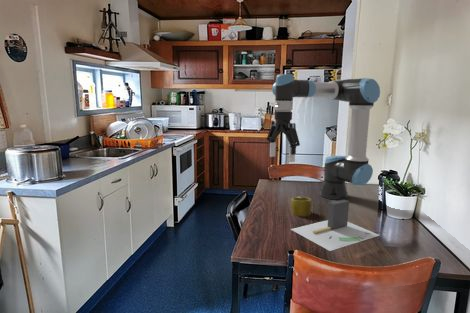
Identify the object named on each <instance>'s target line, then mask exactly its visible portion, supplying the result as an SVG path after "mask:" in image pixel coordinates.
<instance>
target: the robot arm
mask: <svg viewBox="0 0 470 313" xmlns="http://www.w3.org/2000/svg"><path fill="white" fill-rule="evenodd" d="M271 88H272V89H271V90H272V94H273V95H274V96H275V97H274V101H275V102H274V104H275V105H274V110H275V111H274V120H272V121H271V123H270V128H269V131H268V134H267V136H266V141H268V143H269V157H270V158H273V157H276V150H277V149H276V148H277V147H276V146H277V143H276V140H277V138H278V137H279V135H280V134H281V133H282V134H284V135H285V136H286V139H287V141H288V144H289V147H288V163H294V162H295V160H296V159H295V158H296V152H297V151H296V150H297V147H300V145H301V143H300V139H299V135H298V132H297V129H296V123H294V122H293V123H292V122H291V121H292V120H293V112H292V111H293V109H294V108H293V106H294V105H293V104H294V102H293V101H294V98H304V99H305V98H306V99H307V98H325V99H326V98H327V100H332V101H333V100H334V101H335V100H336V101H339V102H346V103H348V106H349V108H351V116H350V129H349V142H348V154H347V155H330V156H326V158H325V160H324V172H323V175H324V176H323V182H322V185H321V188H320V191H319V196H320V197H322V198H324V199H328V200H334V201H339V200H347V198H348V194H349V193H348V190H347V186H346V182H347V183H349V184H352V185H355V186H364V185H366V184H368V183H369V181H371V178H372V176H373V173H374V172H373V171H374V170H373V167H372V165H370V164H369V158H368V157H367V148H368V147H367V146H368V137H369V136H368V134H369V125H370V124H369V123H370V112H371V111H370V110H371V109H372V108H373V107H374V105H375V104H374V103H376V102H377V101H378V100H379V98H380V94H381V87H380V85H379V83H378V82H377V81H376V80H375V79H374V78H366V77H364V78H350V79H349V78H346V79H341V80H340V79H339V80H331V81H330V80H329V81H328V82H320V81H319V82H316V81H313V80H309V79H295V76H294V75H293V74H292V73H291V74H289V73H281V74H277V75H276V77H275V82H274V83H273V85H272V87H271Z"/></svg>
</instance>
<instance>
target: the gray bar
mask: <svg viewBox="0 0 470 313" xmlns="http://www.w3.org/2000/svg"><path fill="white" fill-rule="evenodd" d="M349 205H350V200H347V199H342V200H334V201H330V202H329V203H328V215H327V220H328V227H326V228H322V229H319V230H315V231H313V233H319V232H322V231H326V230H330V229H332V230H333V229H337V228H341V227H344V226H347V222H349V220H348V219H349V207H350V206H349Z"/></svg>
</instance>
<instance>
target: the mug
mask: <svg viewBox="0 0 470 313" xmlns="http://www.w3.org/2000/svg"><path fill="white" fill-rule="evenodd" d="M290 201H291V202H290V205H291V213H292V215H293V216H298V217H309V216H310V215H311V214H312V210H311V209H312V199H311V198H309V197H307V196H297V197H292V198H291V200H290Z"/></svg>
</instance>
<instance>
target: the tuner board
mask: <svg viewBox="0 0 470 313" xmlns="http://www.w3.org/2000/svg"><path fill="white" fill-rule="evenodd" d="M326 227H328V219H327V220H321V221H318V222H315V223H310V224H306V225H302V226H299V227H294V228H291V229H290V230H291V231H293V232H294V233H297V234H298V235H300V236H302V237H304V238H305V239H307V240H309V241H311V242H312V243H314V244H316V245H318V246H319V247H322V248H324V249H325V250H327V251H328V252H331V251H335V250H337V249H341V248H343V247H344V248H346V247H348V246H351V245H354V244H357V243H361V242H363V241H366V240H370V239H373V238H377V237H379V236H381V235H380V234H378V233H375V232H374V231H371V230H368V229H367V228H364V227H361V226H359V225H357V224H354V223H352V222H349V221H348V222H347V226H344V227H341V228H337V229H333V230H332V229H330V230H326V231H322V232H319V233H313V231H315V230H319V229H322V228H326Z"/></svg>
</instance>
